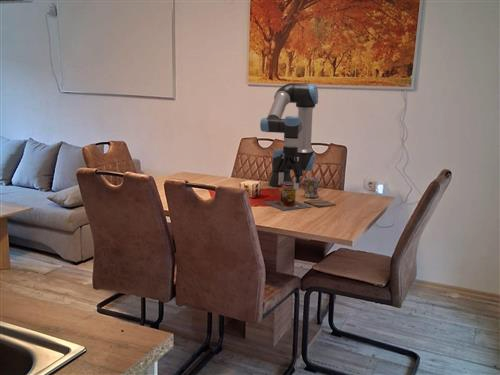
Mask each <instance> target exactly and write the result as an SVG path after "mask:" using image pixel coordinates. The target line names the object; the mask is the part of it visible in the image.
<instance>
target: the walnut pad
mask: <svg viewBox="0 0 500 375" xmlns="http://www.w3.org/2000/svg"><path fill="white" fill-rule="evenodd" d="M303 204H305V205H308V206H311V207H315V208H318V209H319V208H329V207H334V206H335V207H336V206H337V205H336V203H335V202H331V201H327V200H324V199H321V198H318V199H310V200H304V201H303Z"/></svg>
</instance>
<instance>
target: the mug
mask: <svg viewBox="0 0 500 375" xmlns="http://www.w3.org/2000/svg"><path fill="white" fill-rule="evenodd" d="M320 181H321V179H320V178H319V177H317V178H316V177H304V178H303V179H301V180H300V182H299V186H300V187H301V188H302V189H303V190H304V192H303V193H304V194H303V197H305V198H307V199H315V198H318V197H319V193H318V187H319V184H320ZM302 182H304V184H305V187H303V185H302Z"/></svg>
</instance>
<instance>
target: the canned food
mask: <svg viewBox="0 0 500 375" xmlns="http://www.w3.org/2000/svg"><path fill="white" fill-rule="evenodd" d="M296 190H297V189H294V181H292V182H281V187H280V196H279V197H280V198H279V201H280V203H279V206H282V207H284V208H288V207H296V204H295V201H296V194H297V192H296Z"/></svg>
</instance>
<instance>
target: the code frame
mask: <svg viewBox="0 0 500 375" xmlns="http://www.w3.org/2000/svg"><path fill="white" fill-rule="evenodd" d="M263 204H265V205H268V206H270V207H273V208H276V209H277V210H279V211H283V212H287V211H295V210H296V211H297V210H302V209H311V208H312V205H309V204H306V203H304V202H299V201H297V200H295V206H293V207H284V206H281V205H280V200H273V201H271V200H270V201H264V202H263ZM296 205H297V206H296Z"/></svg>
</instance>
